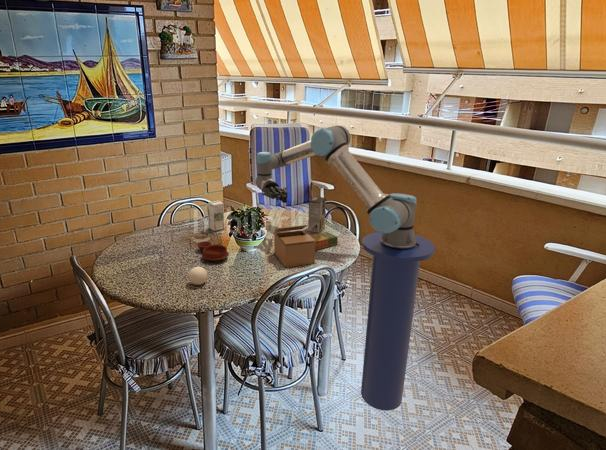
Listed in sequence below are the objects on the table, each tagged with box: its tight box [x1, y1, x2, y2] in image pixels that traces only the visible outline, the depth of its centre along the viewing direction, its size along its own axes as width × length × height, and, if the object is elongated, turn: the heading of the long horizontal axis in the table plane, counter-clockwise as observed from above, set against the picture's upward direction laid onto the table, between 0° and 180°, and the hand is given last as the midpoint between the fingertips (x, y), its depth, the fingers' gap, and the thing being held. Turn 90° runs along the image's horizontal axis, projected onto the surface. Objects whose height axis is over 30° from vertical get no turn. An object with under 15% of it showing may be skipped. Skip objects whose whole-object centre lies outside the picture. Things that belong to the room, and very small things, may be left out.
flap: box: [274, 224, 308, 233], centre depth 176 cm, size 7×13×1 cm
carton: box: [310, 231, 339, 251], centre depth 189 cm, size 8×16×4 cm, turn 121°
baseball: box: [188, 266, 209, 286], centre depth 155 cm, size 7×7×7 cm
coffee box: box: [307, 195, 327, 234], centre depth 207 cm, size 9×6×16 cm
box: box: [273, 229, 316, 268], centre depth 175 cm, size 15×13×10 cm
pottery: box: [196, 241, 230, 263], centre depth 180 cm, size 12×20×4 cm, turn 32°
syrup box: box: [207, 200, 225, 232], centre depth 210 cm, size 6×6×14 cm
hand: (285, 199), depth 180 cm, fingers closed
